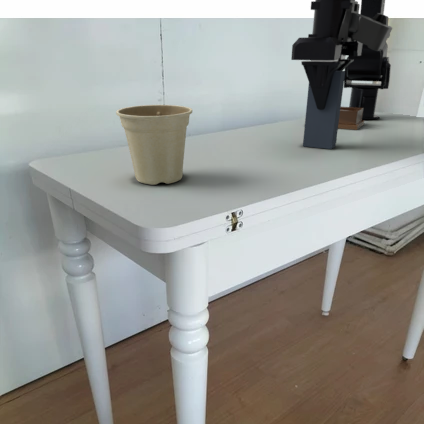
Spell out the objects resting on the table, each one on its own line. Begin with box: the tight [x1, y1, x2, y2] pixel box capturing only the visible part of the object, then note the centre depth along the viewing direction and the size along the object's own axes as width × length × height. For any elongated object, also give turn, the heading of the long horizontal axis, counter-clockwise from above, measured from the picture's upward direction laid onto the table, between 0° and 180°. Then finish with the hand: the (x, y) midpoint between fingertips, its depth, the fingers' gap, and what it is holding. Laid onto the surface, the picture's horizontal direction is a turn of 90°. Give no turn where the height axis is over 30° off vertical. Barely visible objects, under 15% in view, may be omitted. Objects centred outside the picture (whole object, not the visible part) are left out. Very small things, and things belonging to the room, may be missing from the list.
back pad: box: [302, 70, 345, 150], centre depth 74 cm, size 2×5×12 cm, turn 62°
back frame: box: [338, 106, 366, 131], centre depth 93 cm, size 7×10×3 cm
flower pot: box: [115, 104, 193, 186], centre depth 58 cm, size 9×9×9 cm
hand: (323, 108), depth 74 cm, fingers closed on back pad, 2 cm apart
